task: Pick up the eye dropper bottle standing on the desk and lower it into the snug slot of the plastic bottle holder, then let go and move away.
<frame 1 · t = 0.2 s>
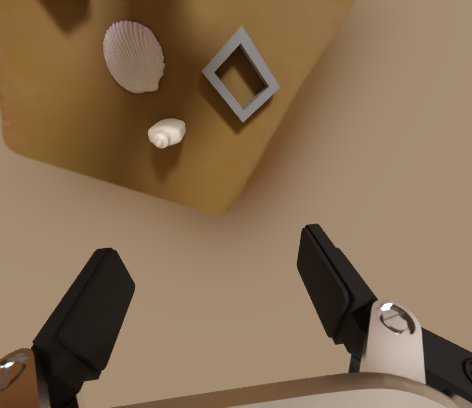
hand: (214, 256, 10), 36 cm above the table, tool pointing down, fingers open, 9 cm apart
eye dropper bottle: (172, 126, 41), on the table
bottle holder: (240, 79, 37), on the table
seashell: (137, 60, 34), on the table
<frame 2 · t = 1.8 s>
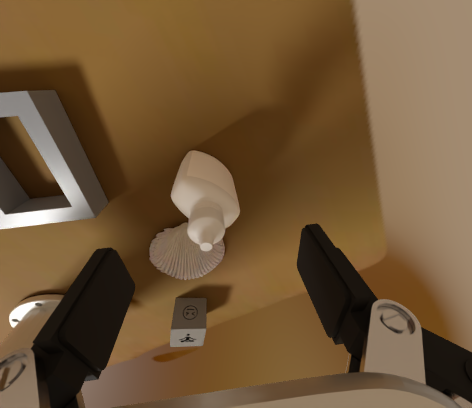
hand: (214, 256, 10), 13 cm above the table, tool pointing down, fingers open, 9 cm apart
dice cube: (190, 305, 34), on the table
eye dropper bottle: (207, 169, 22), on the table
bottle holder: (37, 159, 19), on the table
seashell: (188, 247, 28), on the table
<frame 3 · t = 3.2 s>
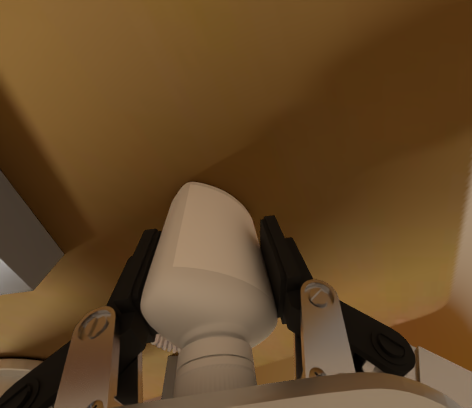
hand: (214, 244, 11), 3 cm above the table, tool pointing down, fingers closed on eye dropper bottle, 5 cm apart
dice cube: (187, 361, 27), on the table
eye dropper bottle: (214, 208, 14), on the table, touching gripper
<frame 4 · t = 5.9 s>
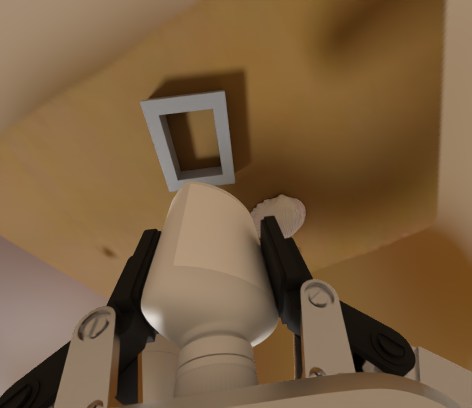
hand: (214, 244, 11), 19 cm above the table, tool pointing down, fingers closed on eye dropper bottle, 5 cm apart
eye dropper bottle: (214, 207, 14), point 15 cm above the table, touching gripper
bottle holder: (195, 140, 26), on the table
seashell: (275, 216, 35), on the table
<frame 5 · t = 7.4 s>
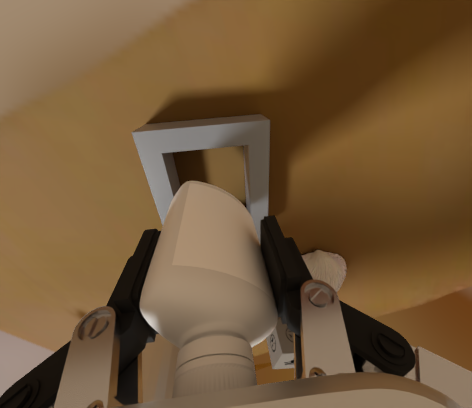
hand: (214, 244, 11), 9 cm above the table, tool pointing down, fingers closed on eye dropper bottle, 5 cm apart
dice cube: (282, 324, 34), on the table
eye dropper bottle: (213, 207, 14), point 5 cm above the table, touching gripper
bottle holder: (212, 182, 18), on the table
seashell: (305, 272, 27), on the table
when the fingers open (4 cm above the table, at t = 8.7 s): eye dropper bottle stays where it is, resting in bottle holder.
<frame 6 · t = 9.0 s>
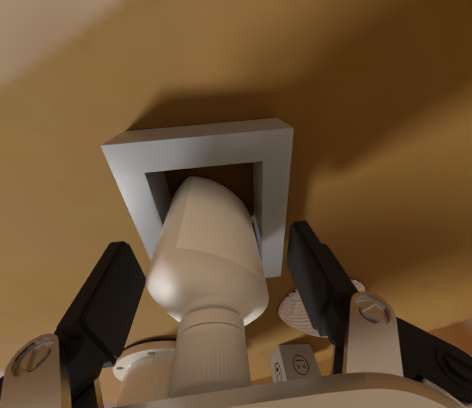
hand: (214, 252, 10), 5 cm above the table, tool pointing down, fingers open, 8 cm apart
dice cube: (288, 349, 31), on the table
eye dropper bottle: (213, 202, 15), resting in bottle holder
bottle holder: (214, 202, 15), on the table
seashell: (318, 298, 24), on the table
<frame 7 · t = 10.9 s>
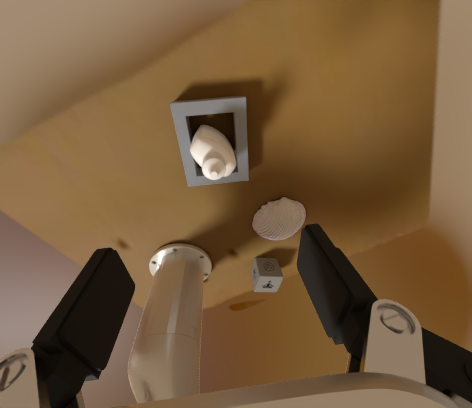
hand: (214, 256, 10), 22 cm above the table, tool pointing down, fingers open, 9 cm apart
dice cube: (263, 264, 45), on the table
eye dropper bottle: (213, 141, 29), resting in bottle holder
bottle holder: (214, 140, 29), on the table
seashell: (277, 217, 38), on the table
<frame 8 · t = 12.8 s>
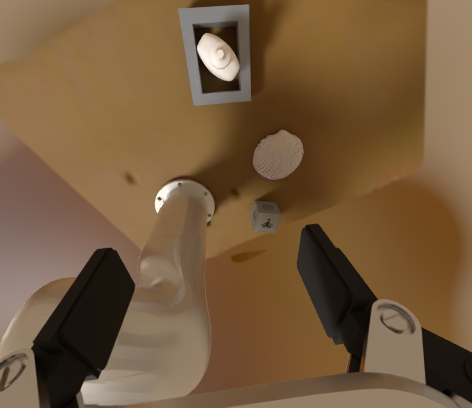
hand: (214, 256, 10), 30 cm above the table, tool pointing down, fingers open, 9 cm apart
dice cube: (262, 209, 47), on the table
eye dropper bottle: (218, 62, 31), resting in bottle holder
bottle holder: (218, 61, 30), on the table
seashell: (276, 155, 40), on the table
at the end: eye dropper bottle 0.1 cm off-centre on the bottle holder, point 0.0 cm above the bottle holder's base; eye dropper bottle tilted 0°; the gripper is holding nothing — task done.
